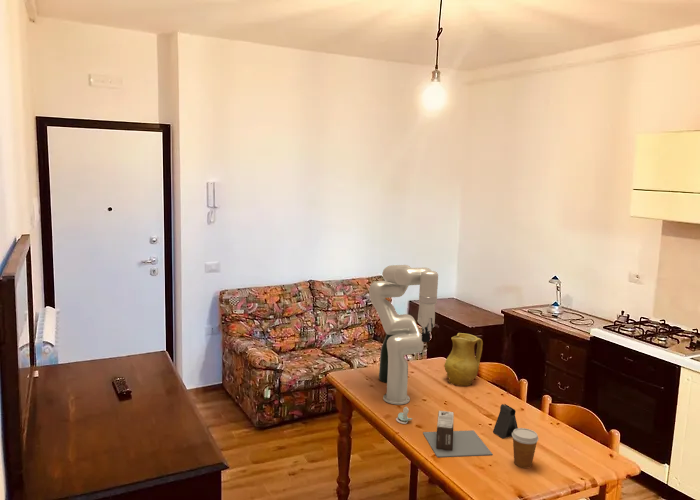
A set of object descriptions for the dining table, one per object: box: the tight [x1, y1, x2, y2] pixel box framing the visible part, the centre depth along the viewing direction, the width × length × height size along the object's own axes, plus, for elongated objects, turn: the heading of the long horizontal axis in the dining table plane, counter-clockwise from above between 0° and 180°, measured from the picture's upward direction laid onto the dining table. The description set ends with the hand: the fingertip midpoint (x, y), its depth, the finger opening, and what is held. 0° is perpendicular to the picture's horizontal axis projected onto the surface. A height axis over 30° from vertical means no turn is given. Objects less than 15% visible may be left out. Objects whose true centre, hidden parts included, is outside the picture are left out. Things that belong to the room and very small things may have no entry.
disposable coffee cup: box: [511, 427, 539, 469], centre depth 206 cm, size 10×10×12 cm
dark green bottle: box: [378, 333, 393, 384], centre depth 287 cm, size 10×10×33 cm
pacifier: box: [395, 406, 413, 425], centre depth 240 cm, size 7×6×6 cm
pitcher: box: [443, 332, 484, 387], centre depth 288 cm, size 17×19×25 cm
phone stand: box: [492, 403, 519, 439], centre depth 231 cm, size 9×6×12 cm, turn 114°
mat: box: [422, 429, 493, 458], centre depth 221 cm, size 20×22×1 cm
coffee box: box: [436, 410, 455, 451], centre depth 221 cm, size 9×6×16 cm
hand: (425, 341), depth 238 cm, fingers closed
